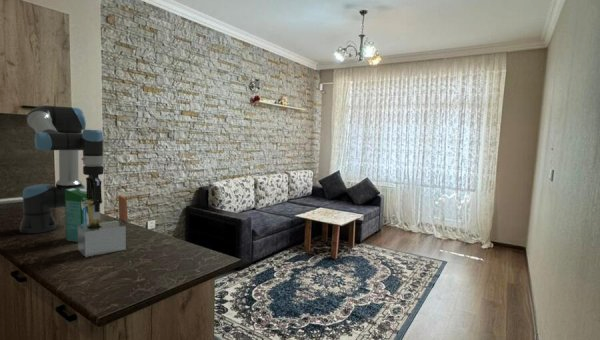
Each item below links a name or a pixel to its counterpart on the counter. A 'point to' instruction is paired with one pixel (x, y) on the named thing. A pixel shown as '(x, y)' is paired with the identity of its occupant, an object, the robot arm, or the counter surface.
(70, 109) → the robot arm
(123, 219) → the orange tab
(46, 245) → the counter surface
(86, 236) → the block
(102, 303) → the counter surface
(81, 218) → the milk carton
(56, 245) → the counter surface
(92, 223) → the brass pin
